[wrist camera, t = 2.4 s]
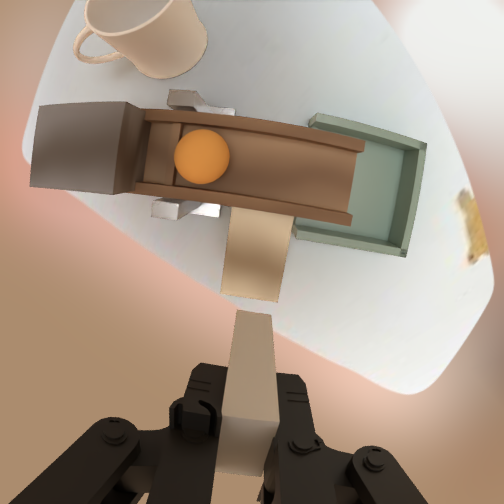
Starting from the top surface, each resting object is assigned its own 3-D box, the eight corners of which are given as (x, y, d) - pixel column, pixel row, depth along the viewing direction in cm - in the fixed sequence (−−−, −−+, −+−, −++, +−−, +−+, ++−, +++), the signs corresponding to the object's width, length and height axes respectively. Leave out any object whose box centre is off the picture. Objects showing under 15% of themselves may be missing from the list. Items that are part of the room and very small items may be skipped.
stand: (178, 105, 29) (146, 80, 19) (235, 110, 29) (225, 84, 19) (163, 208, 32) (126, 223, 22) (219, 216, 32) (202, 235, 22)
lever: (84, 111, 21) (40, 100, 15) (354, 141, 21) (385, 132, 15) (72, 260, 24) (31, 282, 18) (322, 302, 25) (339, 340, 19)
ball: (185, 130, 20) (171, 123, 17) (235, 136, 21) (231, 128, 17) (178, 179, 21) (163, 181, 18) (227, 186, 21) (222, 188, 18)
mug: (114, 101, 29) (52, 76, 17) (103, 42, 27) (48, 4, 15) (216, 64, 28) (193, 11, 16) (198, 5, 26) (173, -56, 14)
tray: (309, 119, 29) (317, 112, 25) (409, 145, 29) (426, 143, 25) (291, 230, 32) (296, 238, 28) (390, 248, 32) (405, 257, 28)
